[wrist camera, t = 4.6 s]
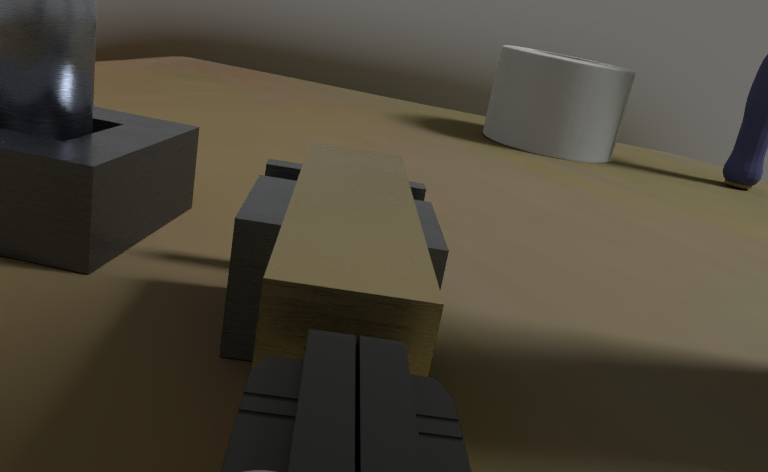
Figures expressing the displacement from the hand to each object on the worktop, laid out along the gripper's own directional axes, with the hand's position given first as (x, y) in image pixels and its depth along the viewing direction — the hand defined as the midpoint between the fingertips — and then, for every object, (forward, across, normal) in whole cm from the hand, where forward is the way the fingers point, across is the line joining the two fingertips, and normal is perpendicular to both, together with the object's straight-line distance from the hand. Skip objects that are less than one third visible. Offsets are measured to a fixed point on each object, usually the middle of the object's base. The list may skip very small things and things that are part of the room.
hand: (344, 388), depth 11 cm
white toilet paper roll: (+74, -24, +7) cm, 78 cm away
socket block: (+24, +14, +6) cm, 28 cm away
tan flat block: (+7, 0, +6) cm, 10 cm away
